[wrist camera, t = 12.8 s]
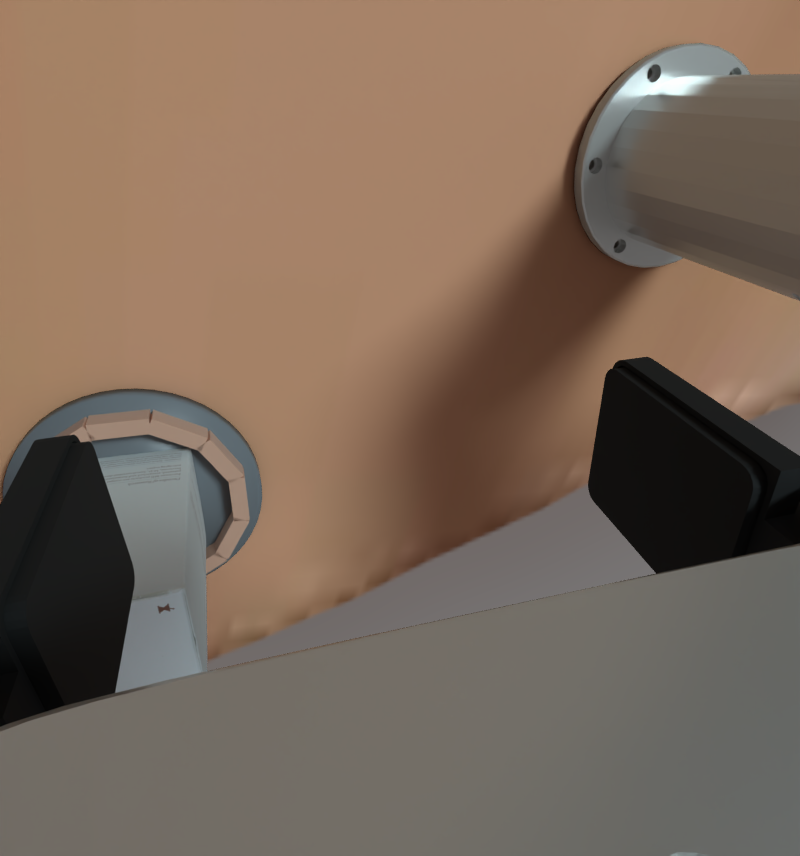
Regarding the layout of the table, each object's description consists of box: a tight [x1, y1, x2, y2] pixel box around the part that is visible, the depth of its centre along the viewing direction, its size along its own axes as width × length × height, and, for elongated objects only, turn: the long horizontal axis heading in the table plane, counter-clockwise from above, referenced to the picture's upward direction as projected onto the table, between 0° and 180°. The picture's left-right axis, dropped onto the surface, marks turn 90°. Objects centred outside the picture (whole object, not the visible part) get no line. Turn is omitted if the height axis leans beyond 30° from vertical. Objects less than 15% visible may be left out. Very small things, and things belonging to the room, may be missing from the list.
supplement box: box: [98, 448, 207, 693], centre depth 33 cm, size 7×7×13 cm
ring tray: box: [3, 389, 262, 575], centre depth 38 cm, size 15×15×2 cm
